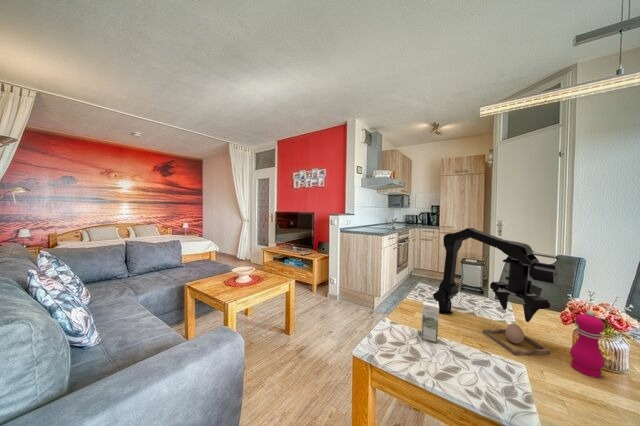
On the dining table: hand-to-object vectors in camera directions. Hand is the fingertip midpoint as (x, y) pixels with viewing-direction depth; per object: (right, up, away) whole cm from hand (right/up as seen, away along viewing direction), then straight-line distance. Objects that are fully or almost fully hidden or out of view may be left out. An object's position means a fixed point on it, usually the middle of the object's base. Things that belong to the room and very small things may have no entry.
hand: (515, 315), depth 86 cm
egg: (0, -11, 0) cm, 11 cm away
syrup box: (-33, -10, +2) cm, 34 cm away
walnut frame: (0, -11, 0) cm, 11 cm away
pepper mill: (+11, -12, -14) cm, 21 cm away
